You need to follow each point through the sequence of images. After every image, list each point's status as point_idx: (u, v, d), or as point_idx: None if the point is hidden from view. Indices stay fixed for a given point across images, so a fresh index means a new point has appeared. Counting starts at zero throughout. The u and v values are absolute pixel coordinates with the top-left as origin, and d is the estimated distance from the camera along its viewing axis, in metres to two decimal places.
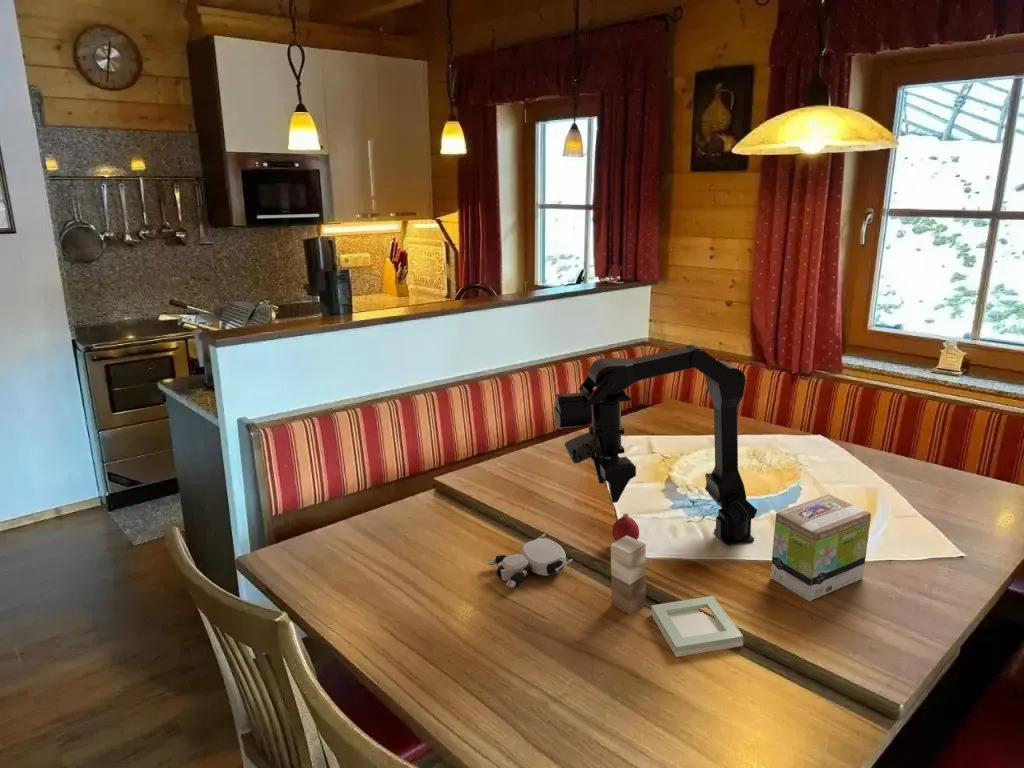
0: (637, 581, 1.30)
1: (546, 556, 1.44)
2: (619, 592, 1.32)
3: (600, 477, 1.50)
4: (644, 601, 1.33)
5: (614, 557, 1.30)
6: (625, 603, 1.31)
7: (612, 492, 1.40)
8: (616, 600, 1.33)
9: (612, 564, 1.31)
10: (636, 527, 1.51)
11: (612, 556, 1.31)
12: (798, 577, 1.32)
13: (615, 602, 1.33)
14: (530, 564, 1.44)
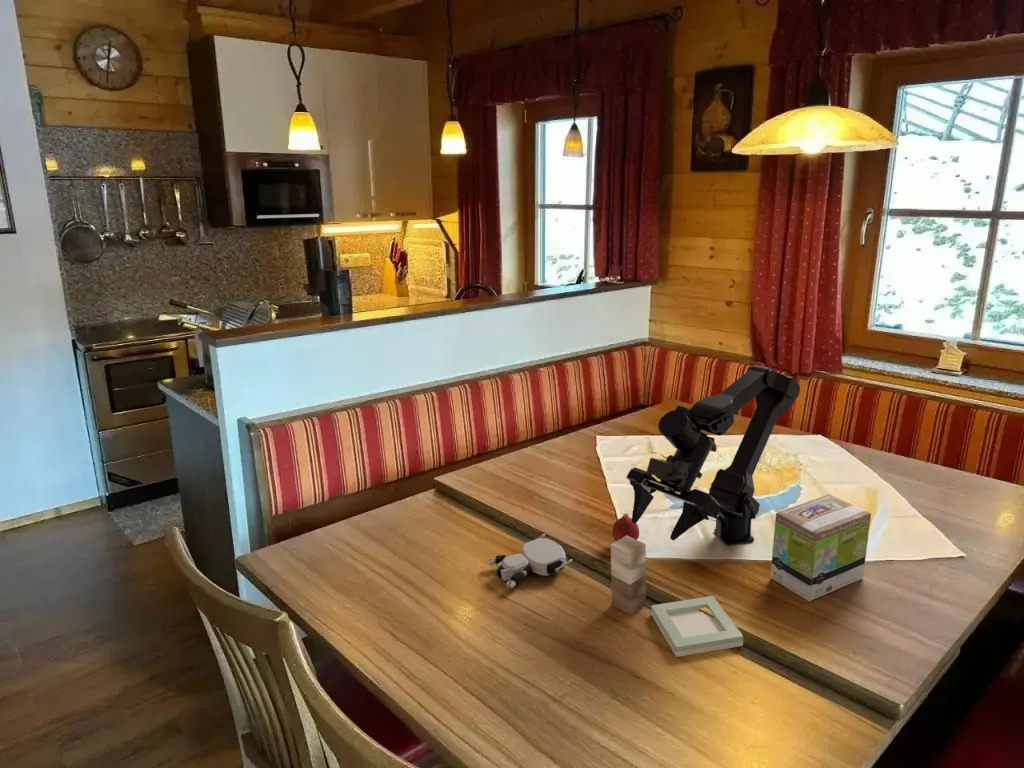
0: (637, 581, 1.30)
1: (546, 556, 1.44)
2: (619, 592, 1.32)
3: (636, 515, 1.38)
4: (644, 601, 1.33)
5: (614, 557, 1.30)
6: (625, 603, 1.31)
7: (681, 526, 1.30)
8: (616, 600, 1.33)
9: (612, 564, 1.31)
10: (636, 527, 1.51)
11: (612, 556, 1.31)
12: (798, 577, 1.32)
13: (615, 602, 1.33)
14: (530, 564, 1.44)
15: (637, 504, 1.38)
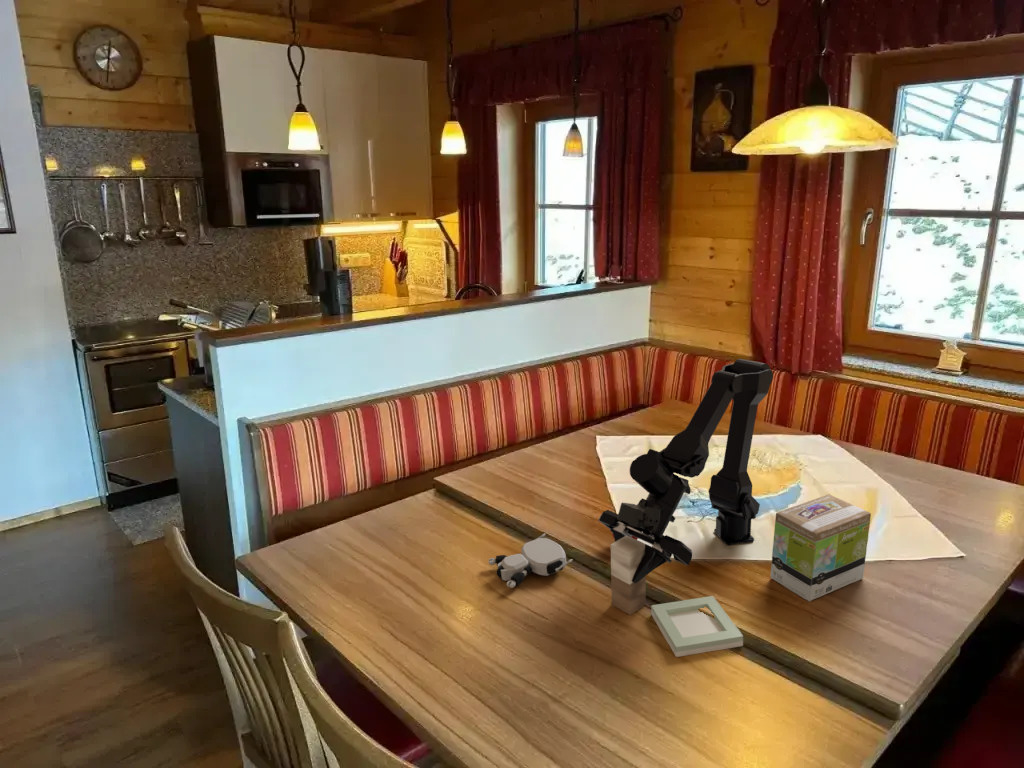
0: None
1: (546, 556, 1.44)
2: (619, 592, 1.32)
3: None
4: (644, 601, 1.33)
5: (614, 557, 1.30)
6: (625, 603, 1.31)
7: (643, 569, 1.29)
8: (616, 600, 1.33)
9: (612, 564, 1.31)
10: None
11: (612, 556, 1.31)
12: (798, 578, 1.32)
13: (615, 602, 1.33)
14: (530, 564, 1.44)
15: None
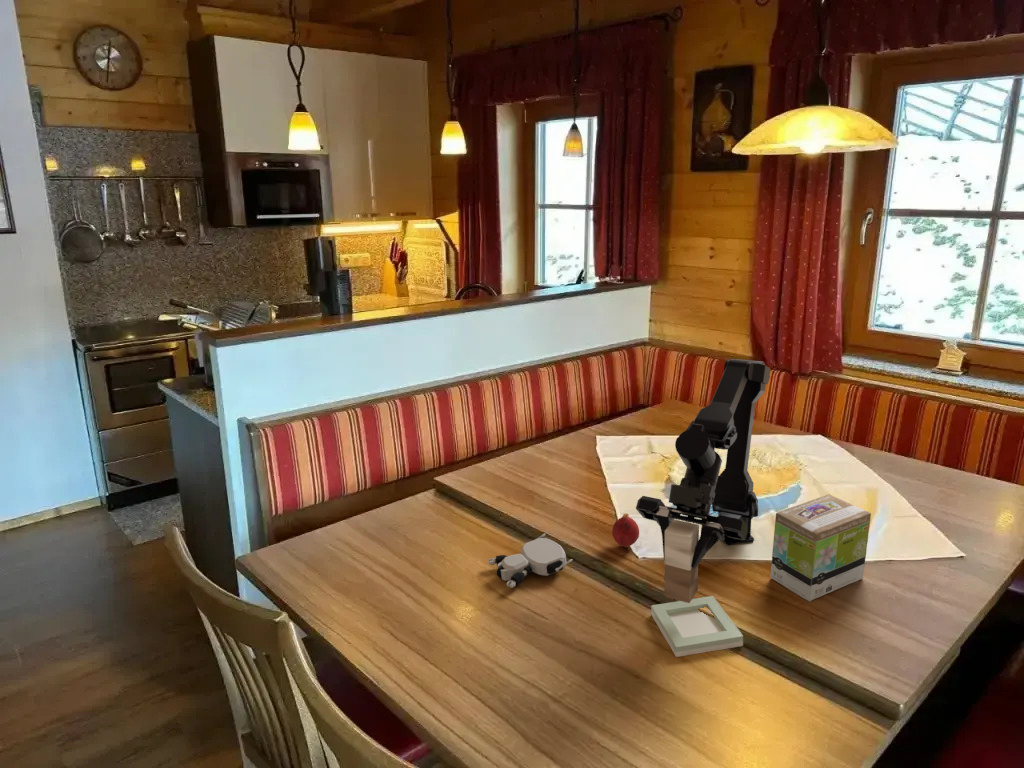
0: None
1: (546, 556, 1.44)
2: (674, 581, 1.22)
3: None
4: (697, 586, 1.25)
5: (669, 544, 1.21)
6: (683, 591, 1.22)
7: (701, 552, 1.20)
8: (670, 590, 1.23)
9: (666, 552, 1.21)
10: (636, 527, 1.51)
11: (666, 543, 1.21)
12: (798, 578, 1.32)
13: (669, 592, 1.23)
14: (530, 564, 1.44)
15: None
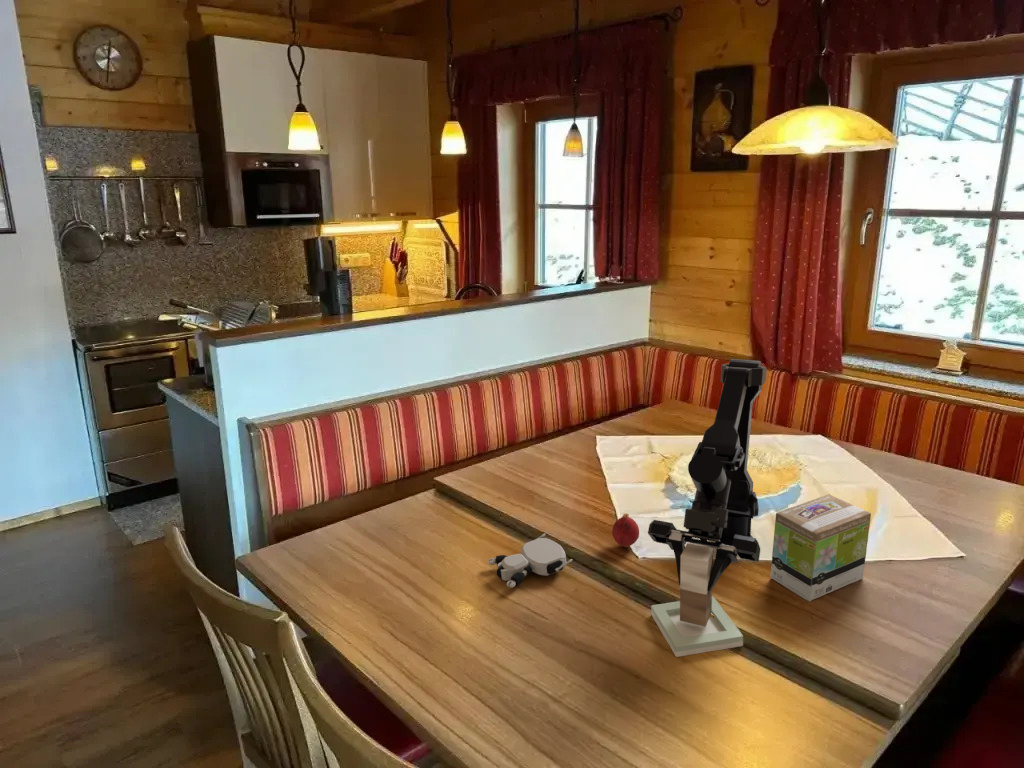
0: None
1: (546, 556, 1.44)
2: (690, 605, 1.22)
3: None
4: (711, 609, 1.25)
5: (685, 569, 1.20)
6: (699, 615, 1.22)
7: (717, 575, 1.21)
8: (686, 614, 1.23)
9: (682, 577, 1.21)
10: (636, 527, 1.51)
11: (682, 568, 1.21)
12: (798, 578, 1.32)
13: (685, 617, 1.23)
14: (530, 564, 1.44)
15: None
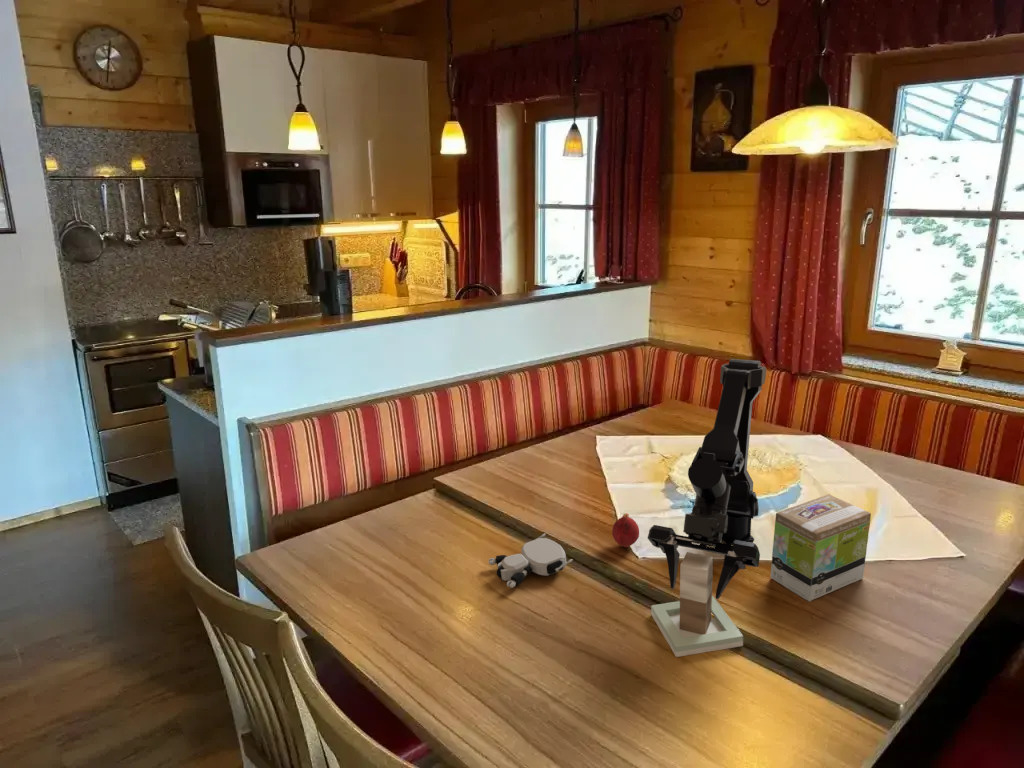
0: (708, 598, 1.22)
1: (546, 556, 1.44)
2: (690, 614, 1.23)
3: (674, 580, 1.24)
4: (710, 617, 1.26)
5: (685, 578, 1.21)
6: (699, 624, 1.22)
7: (725, 582, 1.20)
8: (685, 623, 1.23)
9: (682, 585, 1.22)
10: (636, 527, 1.51)
11: (682, 577, 1.21)
12: (798, 578, 1.32)
13: (685, 625, 1.24)
14: (530, 564, 1.44)
15: (673, 567, 1.24)
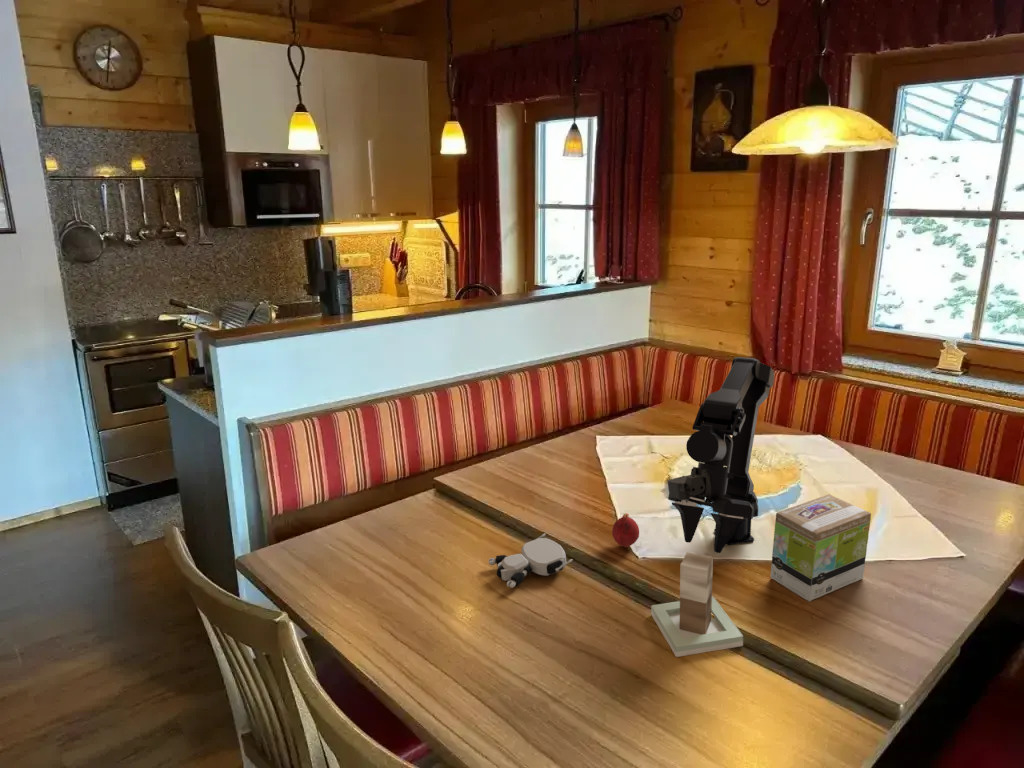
0: (708, 598, 1.22)
1: (546, 556, 1.44)
2: (690, 614, 1.23)
3: (688, 534, 1.36)
4: (710, 617, 1.26)
5: (685, 578, 1.21)
6: (699, 624, 1.22)
7: (719, 538, 1.27)
8: (685, 623, 1.23)
9: (682, 585, 1.22)
10: (636, 527, 1.51)
11: (682, 577, 1.21)
12: (798, 578, 1.32)
13: (685, 625, 1.24)
14: (530, 564, 1.44)
15: (684, 523, 1.37)
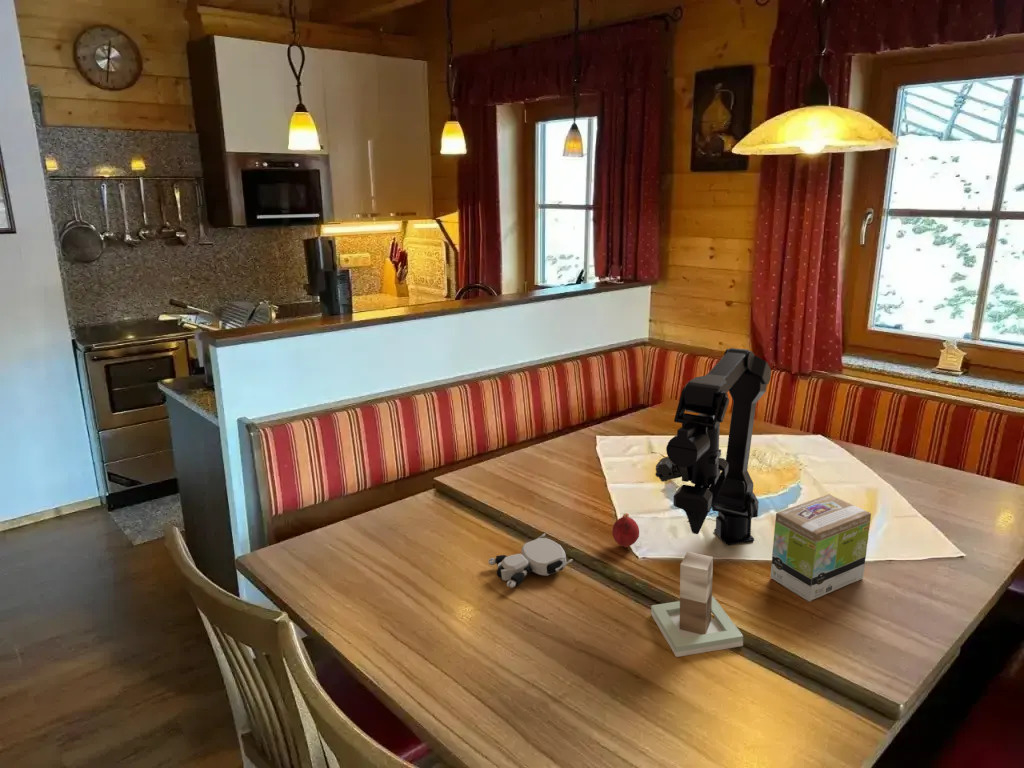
0: (708, 598, 1.22)
1: (546, 556, 1.44)
2: (690, 614, 1.23)
3: None
4: (710, 617, 1.26)
5: (685, 578, 1.21)
6: (699, 624, 1.22)
7: (690, 522, 1.31)
8: (685, 623, 1.23)
9: (682, 585, 1.22)
10: (636, 527, 1.51)
11: (682, 577, 1.21)
12: (798, 578, 1.32)
13: (685, 625, 1.24)
14: (530, 564, 1.44)
15: None
